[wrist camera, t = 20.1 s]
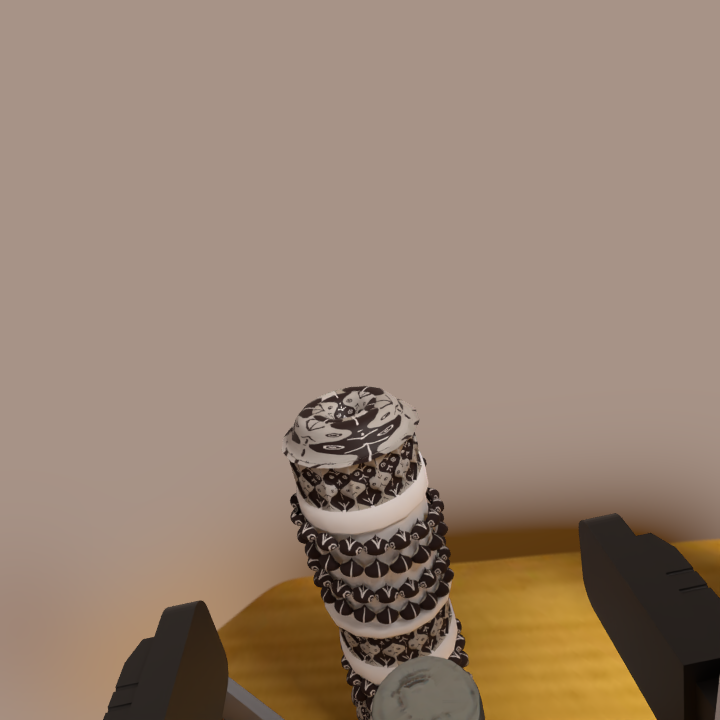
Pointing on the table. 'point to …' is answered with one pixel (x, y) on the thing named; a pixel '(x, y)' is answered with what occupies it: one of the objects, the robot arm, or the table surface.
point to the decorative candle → (373, 534)
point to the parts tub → (245, 705)
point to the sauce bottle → (428, 692)
